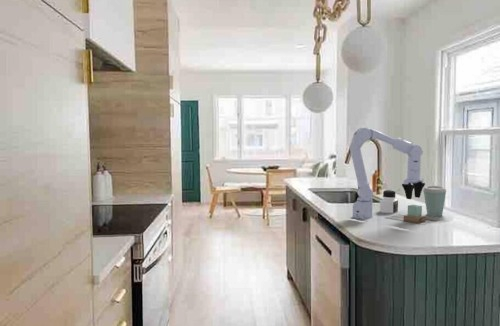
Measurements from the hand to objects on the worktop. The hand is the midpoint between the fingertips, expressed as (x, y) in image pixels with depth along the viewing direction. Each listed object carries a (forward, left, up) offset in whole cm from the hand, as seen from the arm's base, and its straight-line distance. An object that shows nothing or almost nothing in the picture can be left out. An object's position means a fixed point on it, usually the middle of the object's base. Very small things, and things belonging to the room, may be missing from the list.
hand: (413, 198), depth 200 cm
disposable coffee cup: (+15, -3, -11) cm, 19 cm away
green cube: (-7, -5, -7) cm, 11 cm away
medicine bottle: (+5, +16, -11) cm, 20 cm away
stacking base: (-5, -2, -10) cm, 12 cm away
